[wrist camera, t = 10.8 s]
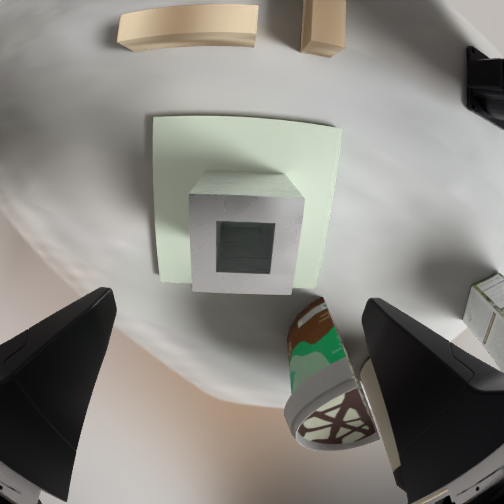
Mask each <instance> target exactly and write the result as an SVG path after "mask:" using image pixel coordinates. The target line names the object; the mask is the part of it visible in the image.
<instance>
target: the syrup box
mask: <svg viewBox="0 0 504 504" xmlns="http://www.w3.org/2000/svg"><path fill="white" fill-rule="evenodd" d="M463 322H464V323H465V324H466V325H467V326H468V328H469V329H470V330H471V331H472V332H473V333H474V335H475V336H476V337H477V338H478V340H479V341H480V342H481V343H482V345H483V346H484V347H485V349H486V350H487V351H488V353H489V354H490V355H491V357H492V358H493V359H494V361H495V362H496V364H497V365H498V366H499V368H500V369H501V371H502V372H503V373H504V276H503V275H502V274H500V273H497V274H495V275H493V276H491V277H489V278H487V279H485V280H483V281H481V282H479V283H477V284H475V285H473V286H472V287H471V290H470V293H469V297H468V301H467V305H466V309H465V313H464V317H463Z"/></svg>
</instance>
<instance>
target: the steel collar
mask: <svg viewBox="0 0 504 504" xmlns="http://www.w3.org/2000/svg"><path fill="white" fill-rule="evenodd" d="M304 205H305V198H304V197H303V196H302V194H301V193H300V192H299V191H298V189H297V188H296V187H295V186H294V184H293V183H292V182H291V181H290V179H289V178H288V177H287V176H286V175H285V174H281V173H267V172H249V171H225V170H206V171H205V172H204V173H203V175H202V176H201V177H200V179H199V180H198V182H197V183H196V184H195V186H194V187H193V189H192V190H191V191H190V193H189V227H190V255H191V275H192V292H210V293H234V294H268V295H291V294H292V288H293V282H294V275H295V269H296V262H297V256H298V249H299V242H300V235H301V228H302V221H303V213H304ZM223 221H234V222H258V223H262V228H251V227H226V226H223Z"/></svg>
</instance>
